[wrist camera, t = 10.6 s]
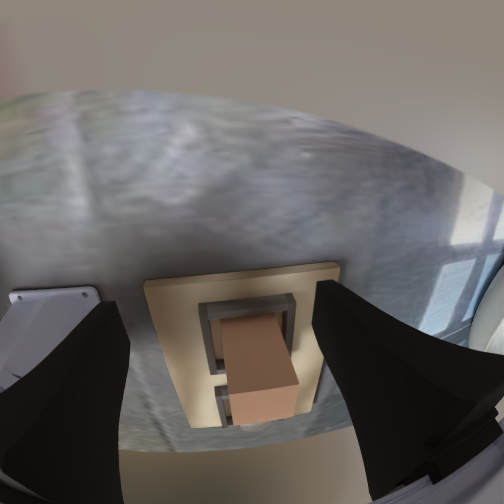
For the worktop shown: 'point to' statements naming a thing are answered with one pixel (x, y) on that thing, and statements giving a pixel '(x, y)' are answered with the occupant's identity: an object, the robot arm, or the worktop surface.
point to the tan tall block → (258, 369)
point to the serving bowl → (490, 319)
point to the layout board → (209, 331)
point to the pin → (255, 426)
